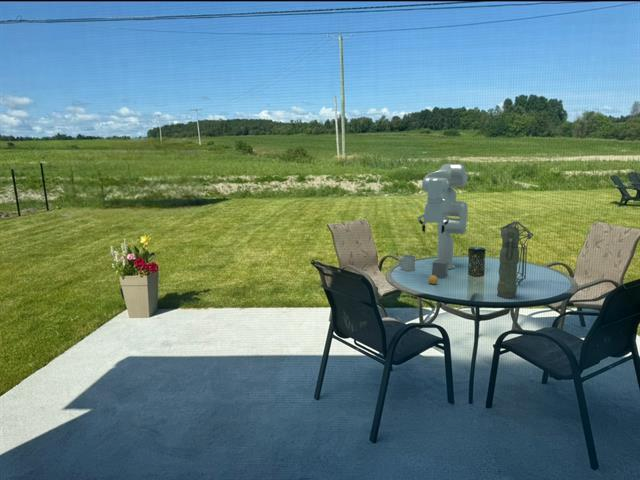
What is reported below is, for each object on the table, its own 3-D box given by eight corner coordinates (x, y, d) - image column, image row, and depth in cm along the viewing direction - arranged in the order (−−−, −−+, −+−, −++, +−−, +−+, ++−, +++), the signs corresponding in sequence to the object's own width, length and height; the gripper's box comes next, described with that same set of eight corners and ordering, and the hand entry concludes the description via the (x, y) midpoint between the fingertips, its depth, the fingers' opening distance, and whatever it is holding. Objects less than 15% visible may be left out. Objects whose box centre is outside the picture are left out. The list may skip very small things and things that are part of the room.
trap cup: (434, 274, 271) (435, 259, 269) (447, 275, 268) (448, 261, 266) (431, 277, 264) (432, 262, 262) (445, 278, 261) (446, 263, 259)
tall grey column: (498, 298, 223) (503, 228, 217) (495, 292, 234) (500, 225, 228) (517, 300, 221) (523, 229, 214) (514, 293, 232) (519, 226, 226)
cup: (413, 271, 277) (414, 257, 275) (397, 270, 279) (398, 256, 278) (415, 269, 283) (415, 255, 282) (399, 268, 286) (399, 254, 285)
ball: (429, 282, 252) (429, 273, 251) (438, 283, 250) (438, 274, 249) (427, 284, 248) (427, 275, 247) (436, 285, 246) (437, 276, 245)
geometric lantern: (523, 281, 256) (529, 220, 249) (528, 289, 241) (535, 224, 234) (494, 278, 260) (499, 218, 253) (496, 286, 245) (502, 223, 238)
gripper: (450, 201, 246) (448, 232, 249) (418, 200, 249) (416, 231, 252) (451, 202, 238) (450, 234, 241) (418, 201, 242) (417, 233, 245)
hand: (433, 232), depth 247 cm, fingers open, 9 cm apart
